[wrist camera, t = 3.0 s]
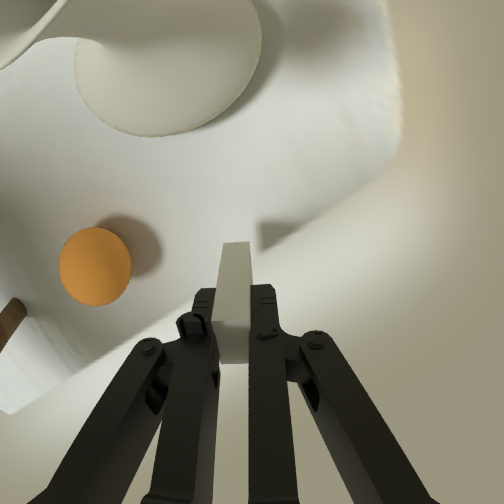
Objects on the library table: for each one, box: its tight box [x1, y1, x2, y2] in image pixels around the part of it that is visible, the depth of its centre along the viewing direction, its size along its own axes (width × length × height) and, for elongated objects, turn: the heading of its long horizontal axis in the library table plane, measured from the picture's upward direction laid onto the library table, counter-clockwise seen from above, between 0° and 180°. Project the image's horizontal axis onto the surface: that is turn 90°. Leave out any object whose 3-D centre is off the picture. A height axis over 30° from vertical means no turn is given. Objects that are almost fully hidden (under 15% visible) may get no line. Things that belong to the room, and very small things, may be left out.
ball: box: [59, 227, 131, 306], centre depth 18 cm, size 6×6×6 cm
